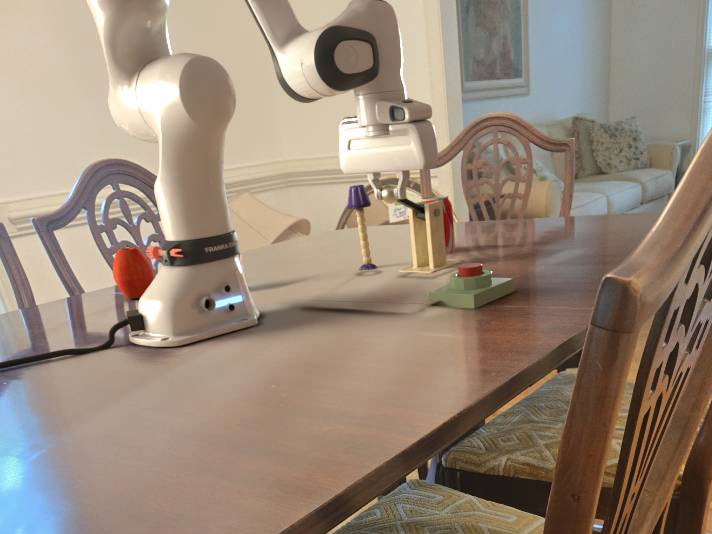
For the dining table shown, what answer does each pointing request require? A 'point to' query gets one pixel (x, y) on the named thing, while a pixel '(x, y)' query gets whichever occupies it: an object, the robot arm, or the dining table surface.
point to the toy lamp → (361, 221)
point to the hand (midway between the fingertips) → (391, 199)
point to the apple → (132, 272)
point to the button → (470, 270)
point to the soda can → (445, 220)
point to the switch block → (471, 290)
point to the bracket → (428, 240)
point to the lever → (403, 201)
